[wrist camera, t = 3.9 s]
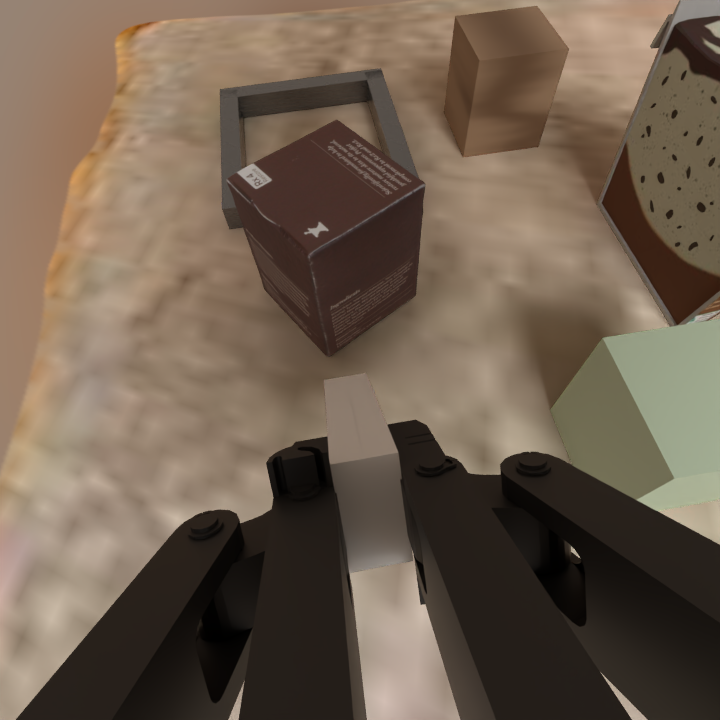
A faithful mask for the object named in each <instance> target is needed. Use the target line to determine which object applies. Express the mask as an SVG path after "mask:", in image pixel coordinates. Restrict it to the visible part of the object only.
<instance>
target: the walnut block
mask: <svg viewBox="0 0 720 720" xmlns="http://www.w3.org/2000/svg"><path fill="white" fill-rule="evenodd" d="M568 51H569V48H568V47H567V45H566V44H565V43H564V41H563V40H562V39H561V37H560V36H559V35H558V33H557V32H556V31H555V29H554V28H553V27H552V25H551V24H550V23H549V21H548V20H547V19H546V17H545V16H544V15H543V13H542V12H541V11H540V9H539V8H538V7H537V6H532V7H524V8H516V9H508V10H501V11H493V12H485V13H477V14H469V15H461V16H455V23H454V31H453V40H452V48H451V57H450V65H449V74H448V83H447V91H446V100H445V108H444V114H445V116H446V118H447V121H448V123H449V125H450V128H451V130H452V132H453V135H454V137H455V139H456V142H457V144H458V146H459V149H460V151H461V153H462V155H463V157H469V156H476V155H483V154H490V153H497V152H505V151H512V150H519V149H526V148H533V147H538V145H539V142H540V139H541V136H542V133H543V130H544V126H545V123H546V120H547V117H548V114H549V111H550V108H551V104H552V101H553V98H554V95H555V92H556V89H557V85H558V82H559V79H560V76H561V73H562V70H563V67H564V63H565V60H566V57H567V54H568Z"/></svg>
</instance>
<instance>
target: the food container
mask: <svg viewBox="0 0 720 720" xmlns="http://www.w3.org/2000/svg"><path fill="white" fill-rule="evenodd" d="M650 47H651V48H659V50H658V52H657V54H656V57H655V59H654V62H653V64H652V67H651V69H650V72H649V74H648V77H647V79H646V82H645V84H644V87H643V89H642V92H641V94H640V97H639V99H638V102H637V104H636V107H635V109H634V112H633V114H632V117H631V119H630V122H629V124H628V127H627V129H626V132H625V134H624V137H623V139H622V142H621V144H620V147H619V149H618V152H617V154H616V157H615V159H614V162H613V164H612V166H611V169H610V171H609V174H608V176H607V179H606V181H605V184H604V186H603V189H602V191H601V194H600V196H599V199H598V201H597V206H598V208H599V209H600V211H601V212H602V214H603V216H604V217H605V219H606V221H607V222H608V224H609V226H610V227H611V229H612V231H613V232H614V234H615V235H616V237H617V239H618V240H619V242H620V244H621V245H622V247H623V249H624V250H625V252H626V254H627V255H628V257H629V258H630V260H631V262H632V263H633V265H634V267H635V268H636V270H637V272H638V273H639V275H640V277H641V278H642V280H643V282H644V283H645V285H646V286H647V288H648V290H649V291H650V293H651V295H652V296H653V298H654V300H655V301H656V303H657V305H658V306H659V308H660V309H661V311H662V313H663V314H664V316H665V318H666V319H667V321H668V323H669V324H670V326H671V327H672V326H678V325H684V324H690V323H697V322H703V321H708V320H710V319H711V318H713V317H715V316H716V315H718V314H719V313H720V0H680V1H679V3H678V5H677V7H676V9H675V11H674V13H673V14H670V15H668V17H667V18H666V20H665V22H664V23H663V25H662V27H661V29H660V30H659V32H658V34H657V35H656V37H655V39H654V40H653V42H652V44H651V45H650Z"/></svg>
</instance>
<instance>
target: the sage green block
mask: <svg viewBox="0 0 720 720" xmlns="http://www.w3.org/2000/svg"><path fill="white" fill-rule="evenodd" d="M550 411H551V413H552V416H553V418H554V421H555V423H556V426H557V428H558V431H559V433H560V436H561V438H562V441H563V443H564V446H565V448H566V451H567V453H568V455H569V458H570V460H571V463H572V465H573V466H574V467H576V468H578V469H580V470H582V471H583V472H585V473H587V474H589V475H591V476H593V477H595V478H596V479H598V480H600V481H602V482H604V483H606V484H608V485H609V486H611V487H613V488H615V489H617V490H619V491H621V492H622V493H624V494H626V495H628V496H630V497H632V498H634V499H635V500H637V501H639V502H641V503H643V504H645V505H647V506H648V507H650V508H652V509H654V510H656V511H662V510H668V509H673V508H679V507H684V506H690V505H695V504H701V503H706V502H712V501H716V500H718V499H720V319H715V320H709V321H703V322H697V323H690V324H684V325H678V326H672V327H666V328H660V329H653V330H647V331H641V332H635V333H629V334H623V335H616V336H610V337H604V338H602V339H601V341H600V342H599V343H598V345H597V346H596V347H595V349H594V350H593V352H592V353H591V354H590V356H589V357H588V358H587V360H586V361H585V363H584V364H583V365H582V367H581V368H580V369H579V371H578V372H577V374H576V375H575V376H574V378H573V379H572V380H571V382H570V383H569V385H568V386H567V387H566V389H565V390H564V391H563V393H562V394H561V396H560V397H559V398H558V400H557V401H556V402H555V404H554V405H553V407H552V408H551V409H550Z"/></svg>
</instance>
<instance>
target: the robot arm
mask: <svg viewBox="0 0 720 720" xmlns="http://www.w3.org/2000/svg"><path fill="white" fill-rule="evenodd" d="M324 391H325V406H326V420H327V435H328V436H327V437H322V438H316V439H310V440H304V441H299V442H295V443H294V445H293V446H292V447H288V448H285V449H283V450H281V451H278V452H277V453H275V454H274V455H272V456H271V457H270V458H269V459H268V461H267V463H266V464H267V469H268V474H269V478H270V483H271V488H272V492H273V497H274V498H273V505H272V509H271V510H270V511H268V512H266V513H265V514H263V515H261V516H259V517H257V518H254V519H252V520H249V521H246V522H244V523H241V524H240V521H239V518H238V516H237V514H236V513H234V512H232V511H230V510H215V511H206V512H203V513H200V514H197V515H195V516H194V517H193V518H191V519H189V520H187V521H186V522H184V523H183V524H182V525H181V526H179V527H178V528H177V529H176V530H175V531H174V532H173V534H172V535H171V536H170V537H169V538H168V540H167V541H166V542H165V543H164V544H163V546H162V547H161V548H160V549H159V550H158V551H157V553H156V554H155V555H154V556H153V557H152V559H151V560H150V561H149V562H148V563H147V564H146V566H145V567H144V568H143V569H142V570H141V572H140V573H139V574H138V575H137V576H136V578H135V579H134V580H133V581H132V582H131V583H130V585H129V586H128V587H127V588H126V589H125V591H124V592H123V593H122V594H121V595H120V597H119V598H118V599H117V600H116V601H115V602H114V604H113V605H112V606H111V607H110V608H109V610H108V611H107V612H106V613H105V614H104V616H103V617H102V618H101V619H100V620H99V621H98V623H97V624H96V625H95V626H94V627H93V629H92V630H91V631H90V632H89V633H88V635H87V636H86V637H85V638H84V639H83V640H82V642H81V643H80V644H79V645H78V646H77V648H76V649H75V650H74V651H73V652H72V654H71V655H70V656H69V657H68V658H67V659H66V661H65V662H64V663H63V664H62V665H61V667H60V668H59V669H58V670H57V671H56V673H55V674H54V675H53V676H52V677H51V678H50V680H49V681H48V682H47V683H46V684H45V686H44V687H43V688H42V689H41V690H40V692H39V693H38V694H37V695H36V696H35V697H34V699H33V700H32V701H31V702H30V703H29V705H28V706H27V707H26V708H25V709H24V711H23V712H22V713H21V714H20V715H19V716H18V718H17V719H16V720H228V719H229V716H230V714H231V711H232V709H233V707H234V704H235V702H236V699H237V697H238V694H239V692H240V690H241V687H242V685H243V682H244V680H245V682H244V689H243V695H242V702H241V708H240V714H239V720H367V718H366V709H365V700H364V691H363V682H362V673H361V664H360V655H359V646H358V638H357V629H356V620H355V611H354V602H353V593H352V586H351V580H350V574H349V573H352V572H357V571H362V570H368V569H373V568H378V567H383V566H389V565H394V564H399V563H404V562H410V561H413V556H412V550H413V553H414V559H415V566H416V574H417V581H418V588H419V596H420V603H421V605H422V604H426V607H427V611H428V614H429V617H430V621H431V624H432V627H433V630H434V634H435V637H436V640H437V644H438V647H439V650H440V653H441V657H442V660H443V663H444V667H445V670H446V673H447V676H448V680H449V683H450V686H451V690H452V693H453V696H454V699H455V703H456V706H457V709H458V713H459V716H460V719H461V720H632V719H631V718H630V716H629V715H628V713H627V712H626V710H625V709H624V707H623V706H622V704H621V703H620V701H619V700H618V698H617V697H616V695H615V694H614V692H613V691H612V689H611V688H610V686H609V685H608V683H607V682H606V680H605V679H604V677H603V676H602V674H603V675H604V676H605V677H606V678H607V679H608V680H609V681H610V682H611V683H612V684H613V685H614V686H615V687H616V688H617V689H618V690H619V691H620V692H621V693H622V694H623V695H624V696H625V697H626V698H627V699H628V700H629V701H630V702H631V703H632V704H633V705H634V706H635V707H636V708H637V709H638V710H639V711H640V712H641V713H642V714H643V715H644V716H645V717H646V718H647V719H648V720H720V545H719V544H717V543H715V542H713V541H712V540H710V539H708V538H706V537H704V536H702V535H700V534H699V533H697V532H695V531H693V530H691V529H689V528H687V527H686V526H684V525H682V524H680V523H678V522H676V521H674V520H673V519H671V518H669V517H667V516H665V515H663V514H661V513H660V512H658V511H656V510H654V509H652V508H650V507H648V506H647V505H645V504H643V503H641V502H639V501H637V500H635V499H634V498H632V497H630V496H628V495H626V494H624V493H622V492H621V491H619V490H617V489H615V488H613V487H611V486H609V485H608V484H606V483H604V482H602V481H600V480H598V479H596V478H595V477H593V476H591V475H589V474H587V473H585V472H583V471H582V470H580V469H578V468H576V467H574V466H572V465H570V464H569V463H567V462H565V461H563V460H561V459H559V458H557V457H554V456H551V455H549V454H543V453H539V452H531V453H529V452H523V453H520V454H516V455H512V456H510V457H508V458H506V459H504V461H503V462H502V463H501V464H500V467H501V475H476V474H470V473H467V471H466V470H465V468H464V466H463V465H462V463H460V462H459V461H458V460H457V459H455V458H452V457H449V456H445V454H444V452H443V451H442V449H441V448H440V446H439V444H438V443H437V441H435V438H434V436H433V435H432V434H431V432H430V430H429V428H428V427H427V425H425V424H423V423H421V422H419V421H417V420H412V421H406V422H400V423H394V424H389V425H387V423H386V421H385V418H384V416H383V413H382V411H381V408H380V406H379V403H378V401H377V398H376V396H375V393H374V391H373V388H372V386H371V383H370V381H369V378H368V376H367V373H362V374H356V375H350V376H344V377H338V378H332V379H326V380H324ZM571 546H572V547H573V548H574V549H575V550H576V552H577V553H578V555H579V556H580V558H581V559H580V558H578V557H577V556H576V555H575V554H573V553H572V552H571ZM411 547H412V548H411ZM600 672H601V673H602V674H601V673H600Z"/></svg>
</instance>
